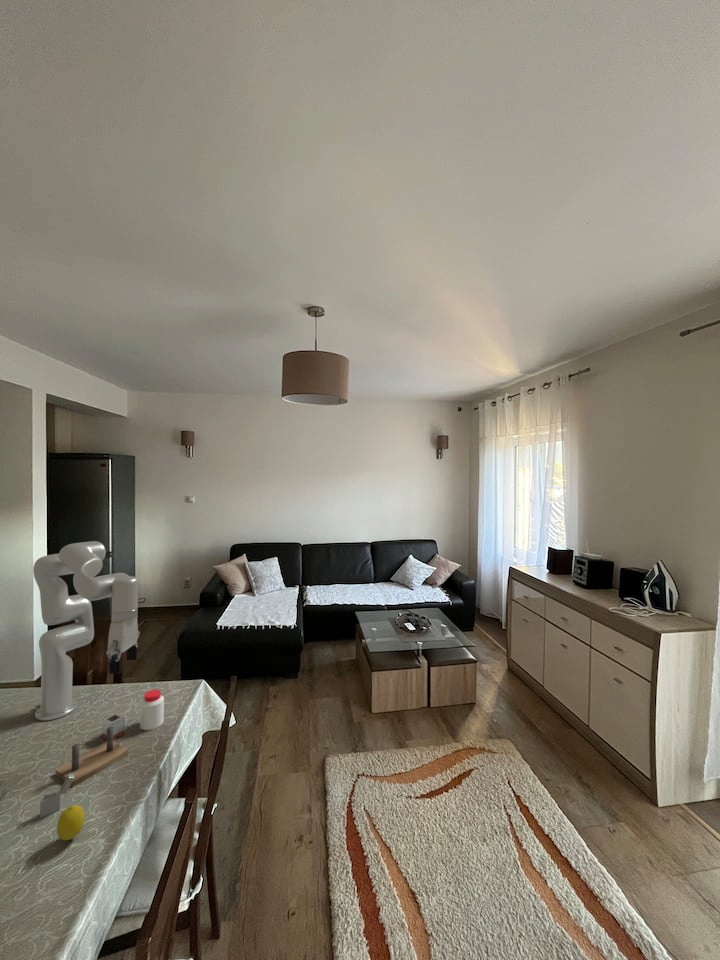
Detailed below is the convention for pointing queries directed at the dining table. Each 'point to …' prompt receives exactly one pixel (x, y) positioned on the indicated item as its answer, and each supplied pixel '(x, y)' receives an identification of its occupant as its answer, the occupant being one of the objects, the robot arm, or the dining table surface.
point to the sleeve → (114, 725)
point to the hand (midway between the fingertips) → (123, 666)
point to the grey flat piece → (54, 798)
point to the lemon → (70, 822)
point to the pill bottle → (152, 710)
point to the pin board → (92, 760)
